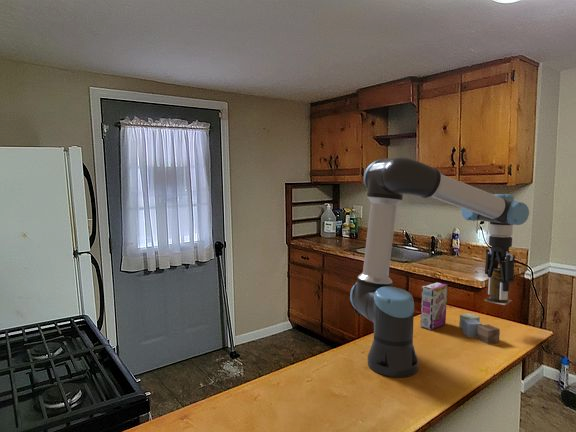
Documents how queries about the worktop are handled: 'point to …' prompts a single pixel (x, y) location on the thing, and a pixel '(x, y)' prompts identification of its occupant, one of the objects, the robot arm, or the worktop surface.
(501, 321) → the worktop surface
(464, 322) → the slate block
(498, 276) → the condiment
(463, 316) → the sage block
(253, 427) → the worktop surface
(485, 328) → the walnut block
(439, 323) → the candy bar box
